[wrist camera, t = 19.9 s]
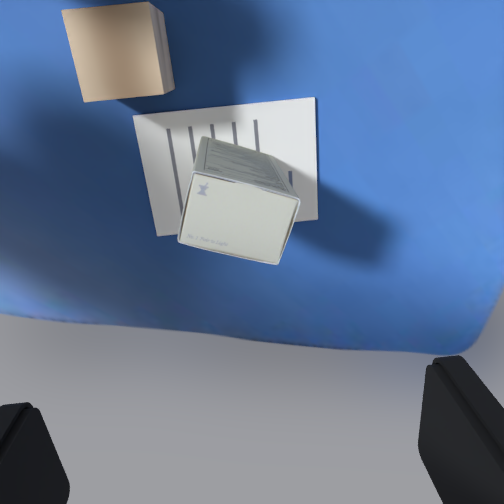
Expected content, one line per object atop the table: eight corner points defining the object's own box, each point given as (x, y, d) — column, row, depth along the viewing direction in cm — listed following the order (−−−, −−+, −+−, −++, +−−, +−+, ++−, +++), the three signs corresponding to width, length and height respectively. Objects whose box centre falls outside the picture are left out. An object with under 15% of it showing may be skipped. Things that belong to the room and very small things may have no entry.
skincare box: (189, 185, 34) (170, 244, 23) (201, 131, 32) (188, 167, 21) (262, 204, 35) (278, 270, 24) (278, 154, 33) (303, 199, 22)
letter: (157, 235, 36) (157, 236, 36) (133, 115, 32) (132, 115, 32) (317, 218, 36) (318, 219, 36) (314, 97, 32) (314, 97, 32)
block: (109, 95, 31) (84, 102, 26) (92, 19, 29) (61, 10, 24) (175, 88, 31) (163, 94, 26) (163, 12, 29) (148, 1, 24)
